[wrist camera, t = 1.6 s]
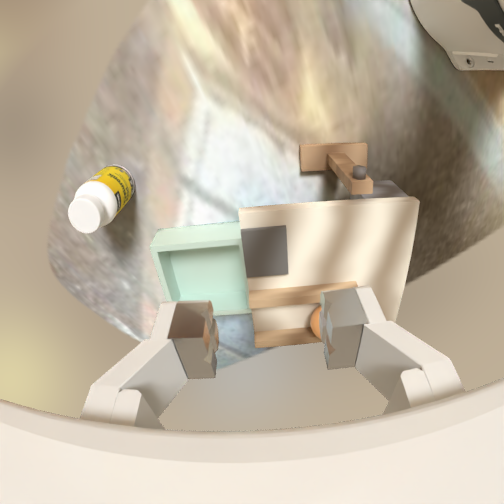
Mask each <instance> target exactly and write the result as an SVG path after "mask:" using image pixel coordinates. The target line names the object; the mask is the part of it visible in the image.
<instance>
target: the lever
mask: <svg viewBox="0 0 504 504" xmlns="http://www.w3.org/2000/svg"><path fill="white" fill-rule="evenodd" d="M419 203H420V201H419V200H417V199H416V198H415V197H409V196H408V195H407V194H406V193H404V192H403V191H402V190H401V189H400V188H399V187H398V186H397V185H396V184H395V183H394V182H392V181H391V180H386V181H373V193H372V194H357V195H351V193H350V200H336V201H320V202H306V203H293V204H280V205H268V206H257V207H246V208H239V220H240V227H241V239H242V246H243V254H244V262H245V269H246V277H247V281H248V288H249V306H250V309H251V310H252V318H253V325H254V339H255V348H263V347H275V346H286V345H297V344H308V343H317V342H322V341H321V339H320V338H318V337H317V336H316V335H315V334H314V333H313V331H312V329H311V324H310V321H311V316H312V314H313V312H314V310H315V309H316V308H317V307H319V306H320V305H321V304H320V294H321V291H327V290H337V289H346V288H353V287H359V286H366V285H369V286H370V287H371V288H372V290H373V292H374V294H375V296H376V299H377V301H378V303H379V305H380V307H381V309H382V312H383V314H384V316H385V318H386V320H387V321H393V322H394V323H396V319H397V315H398V311H399V307H400V303H401V299H402V295H403V291H404V287H405V282H406V278H407V273H408V268H409V263H410V258H411V253H412V248H413V242H414V236H415V230H416V224H417V218H418V211H419Z"/></svg>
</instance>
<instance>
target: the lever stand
mask: <svg viewBox="0 0 504 504" xmlns="http://www.w3.org/2000/svg"><path fill="white" fill-rule="evenodd" d="M367 147H368V145H367V144H366V143H328V144H305V145H300V163H301V170H302V172H303V171H320V170H333V171H334V172H335V174H336V175H337V176H338V177H339V179H340V180H341V181H342V183H343V184H344V185H345V187H346V188H347V189H348V191H349V192H350V193H351V195H357V194H372V193H373V180H372V179H371V178H370V177H369V176H368V175H367V174H366V169H367Z"/></svg>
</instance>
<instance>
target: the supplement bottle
mask: <svg viewBox="0 0 504 504" xmlns="http://www.w3.org/2000/svg"><path fill="white" fill-rule="evenodd" d="M134 188H135V184H134V179H133V177H132V175H131V173H130V172H129V171H128V170H127V169H126V168H124V167H122V166H120V165H109V166H107V167H105V168H103V169H102V170H101V171H99V172H98V173H97V174H95V175H94V176H93V177H92V178H90V179H89V180H88V181H87V182H85V183H84V184H83V185H82V186H81V187H80V188H79V189H78V190H77V192H76V194H75V197H74V201H73V202H72V203H71V204H70V206H69V209H68V216H69V220H70V222H71V224H72V225H73V226H74V228H76V229H77V230H78V231H80V232H82V233H92V232H94V231H96V230H97V229H98V228H99V227H103V226H105V225H107V224H109V223H110V222H111V221H112V220H113V219H114V218H115V217H116V215H117V214H118V213H119V212H120V210H121V209H122V208H123V207H124V206H125V204H126V203H127V202H128V201H129V200H130V198H131V197H132V195H133V193H134Z"/></svg>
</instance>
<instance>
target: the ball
mask: <svg viewBox="0 0 504 504" xmlns="http://www.w3.org/2000/svg"><path fill="white" fill-rule="evenodd" d="M321 310H322V308H321V305H320V306H319V307H317V308H316V309H315V310H314V312H313V314H312V316H311V321H310V324H311V329H312V331H313V333H314V334H315V335H316V336H317V337H318V338H320V339H321V336H320V328H319V312H320V311H321Z"/></svg>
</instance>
